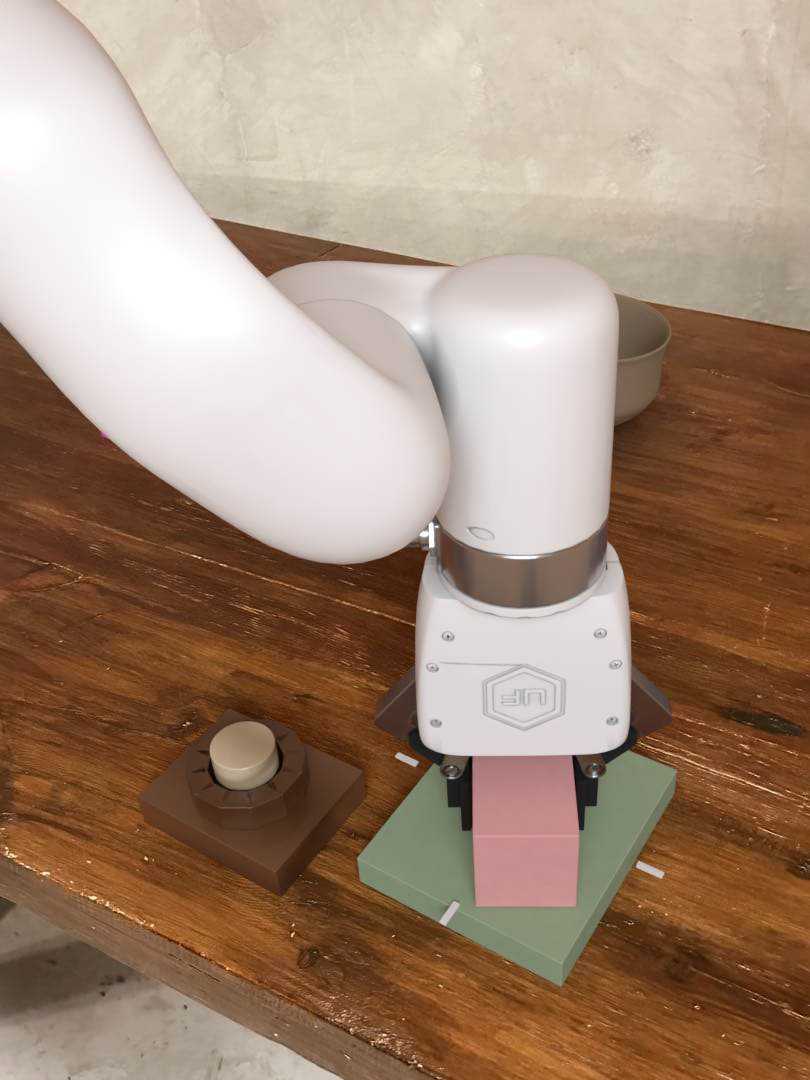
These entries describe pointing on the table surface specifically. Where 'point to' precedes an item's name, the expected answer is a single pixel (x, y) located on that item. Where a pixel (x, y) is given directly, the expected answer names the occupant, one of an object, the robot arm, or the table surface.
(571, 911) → the green mat
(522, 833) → the pink bar
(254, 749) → the button
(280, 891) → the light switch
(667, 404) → the table surface
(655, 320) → the bowl
